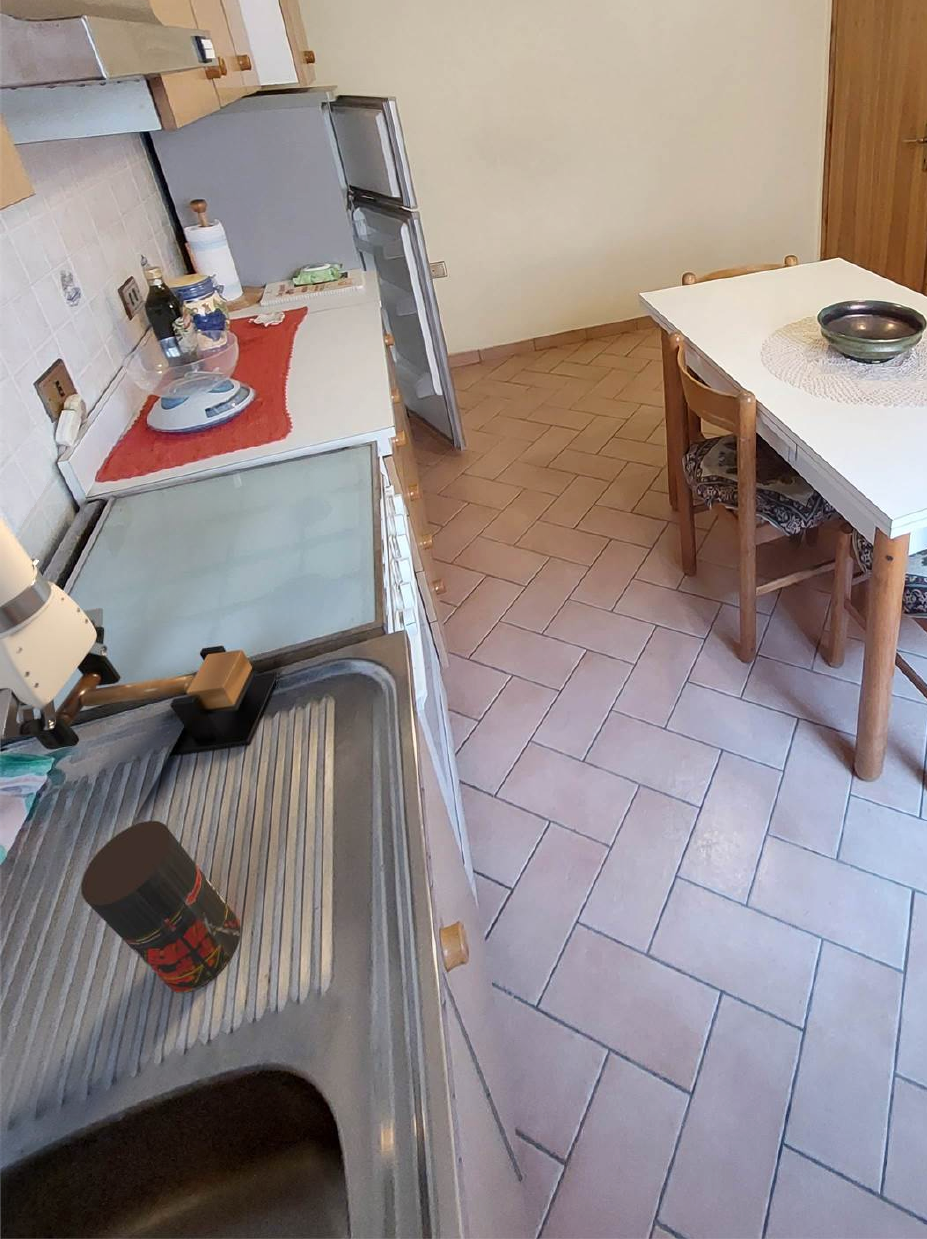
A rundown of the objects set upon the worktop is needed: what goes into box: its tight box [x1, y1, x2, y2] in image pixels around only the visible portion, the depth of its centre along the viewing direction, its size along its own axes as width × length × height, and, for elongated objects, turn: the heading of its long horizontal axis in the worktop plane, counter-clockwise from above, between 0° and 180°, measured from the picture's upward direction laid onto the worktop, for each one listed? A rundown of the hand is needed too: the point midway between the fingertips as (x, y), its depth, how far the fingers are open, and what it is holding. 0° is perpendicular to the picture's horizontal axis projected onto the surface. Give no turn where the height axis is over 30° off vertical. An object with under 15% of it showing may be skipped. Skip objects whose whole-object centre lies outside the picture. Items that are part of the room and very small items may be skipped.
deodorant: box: [80, 820, 242, 994], centre depth 58 cm, size 6×6×15 cm
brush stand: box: [168, 645, 280, 758], centre depth 81 cm, size 10×9×7 cm
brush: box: [55, 649, 253, 727], centre depth 80 cm, size 19×7×4 cm, turn 95°
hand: (86, 711), depth 80 cm, fingers closed on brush, 7 cm apart
